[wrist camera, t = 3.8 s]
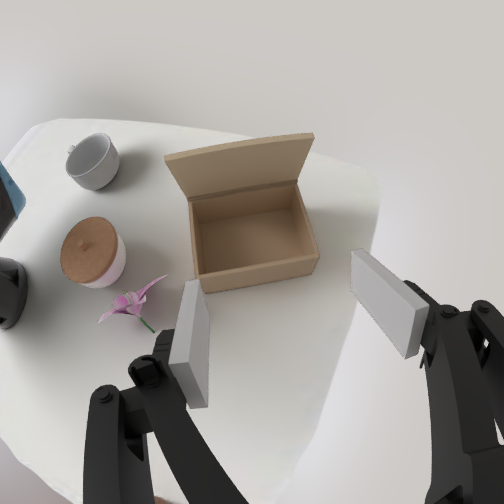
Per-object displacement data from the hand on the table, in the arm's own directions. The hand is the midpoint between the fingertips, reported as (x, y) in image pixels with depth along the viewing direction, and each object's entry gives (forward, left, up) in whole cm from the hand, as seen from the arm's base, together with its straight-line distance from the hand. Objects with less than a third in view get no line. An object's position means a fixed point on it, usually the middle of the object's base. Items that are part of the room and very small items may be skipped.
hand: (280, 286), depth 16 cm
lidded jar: (+1, +29, -25) cm, 38 cm away
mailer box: (+12, +7, -25) cm, 28 cm away
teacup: (+18, +44, -25) cm, 54 cm away
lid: (+15, +9, -12) cm, 21 cm away
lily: (-3, +19, -25) cm, 32 cm away
